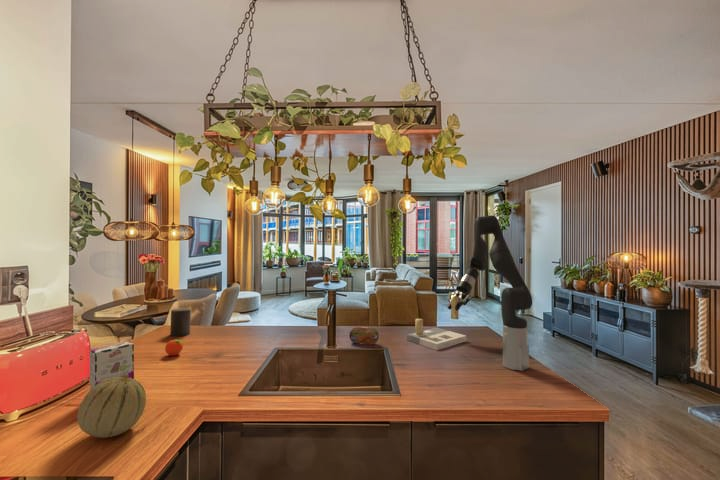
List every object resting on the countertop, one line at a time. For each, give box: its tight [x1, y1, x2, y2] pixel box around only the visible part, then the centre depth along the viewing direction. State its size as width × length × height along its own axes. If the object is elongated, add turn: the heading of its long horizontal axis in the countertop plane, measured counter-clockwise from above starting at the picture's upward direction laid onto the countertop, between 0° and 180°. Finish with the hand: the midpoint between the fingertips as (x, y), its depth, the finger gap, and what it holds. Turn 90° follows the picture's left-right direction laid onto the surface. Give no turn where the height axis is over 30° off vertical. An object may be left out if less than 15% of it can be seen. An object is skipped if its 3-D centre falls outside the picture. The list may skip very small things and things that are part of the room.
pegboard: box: [406, 318, 467, 351], centre depth 174 cm, size 20×24×11 cm
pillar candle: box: [169, 307, 192, 337], centre depth 181 cm, size 10×10×15 cm
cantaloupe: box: [77, 374, 147, 439], centre depth 88 cm, size 15×15×15 cm
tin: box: [348, 326, 380, 346], centre depth 168 cm, size 15×3×8 cm, turn 80°
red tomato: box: [164, 339, 184, 356], centre depth 148 cm, size 8×7×7 cm
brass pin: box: [450, 295, 460, 320], centre depth 175 cm, size 4×4×12 cm
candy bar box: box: [89, 341, 135, 391], centre depth 109 cm, size 11×5×16 cm, turn 148°
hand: (452, 309), depth 174 cm, fingers closed on brass pin, 4 cm apart
